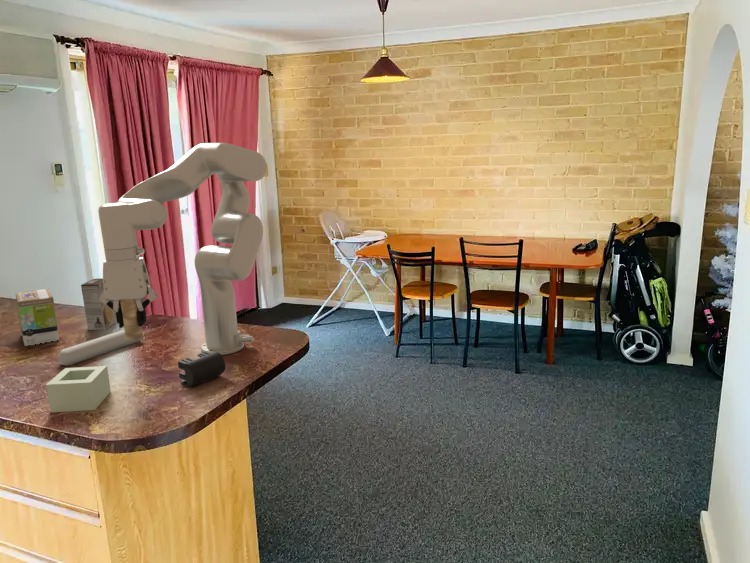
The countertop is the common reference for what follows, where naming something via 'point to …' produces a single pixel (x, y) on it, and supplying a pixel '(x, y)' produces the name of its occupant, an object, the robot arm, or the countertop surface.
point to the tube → (94, 348)
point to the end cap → (201, 368)
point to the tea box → (37, 316)
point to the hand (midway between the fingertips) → (132, 324)
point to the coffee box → (96, 306)
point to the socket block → (78, 389)
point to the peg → (130, 319)
